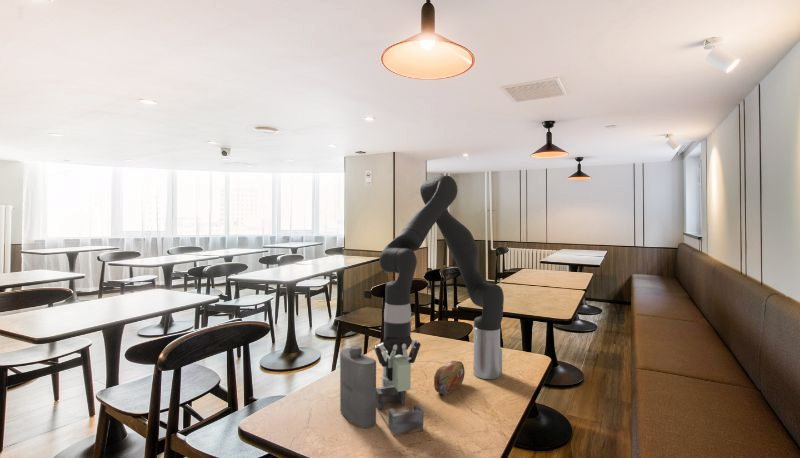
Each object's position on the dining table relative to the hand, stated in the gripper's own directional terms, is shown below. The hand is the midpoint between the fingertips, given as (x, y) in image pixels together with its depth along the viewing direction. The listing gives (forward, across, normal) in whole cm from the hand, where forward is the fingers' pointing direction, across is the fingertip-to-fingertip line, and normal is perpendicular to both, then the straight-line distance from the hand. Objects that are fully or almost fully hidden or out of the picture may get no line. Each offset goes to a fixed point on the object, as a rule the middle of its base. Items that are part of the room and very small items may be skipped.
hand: (396, 378), depth 109 cm
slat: (+1, 0, 0) cm, 1 cm away
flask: (+11, +11, -4) cm, 16 cm away
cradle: (+11, 0, 0) cm, 11 cm away
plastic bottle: (+11, -4, -17) cm, 21 cm away
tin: (+11, -22, -11) cm, 27 cm away
